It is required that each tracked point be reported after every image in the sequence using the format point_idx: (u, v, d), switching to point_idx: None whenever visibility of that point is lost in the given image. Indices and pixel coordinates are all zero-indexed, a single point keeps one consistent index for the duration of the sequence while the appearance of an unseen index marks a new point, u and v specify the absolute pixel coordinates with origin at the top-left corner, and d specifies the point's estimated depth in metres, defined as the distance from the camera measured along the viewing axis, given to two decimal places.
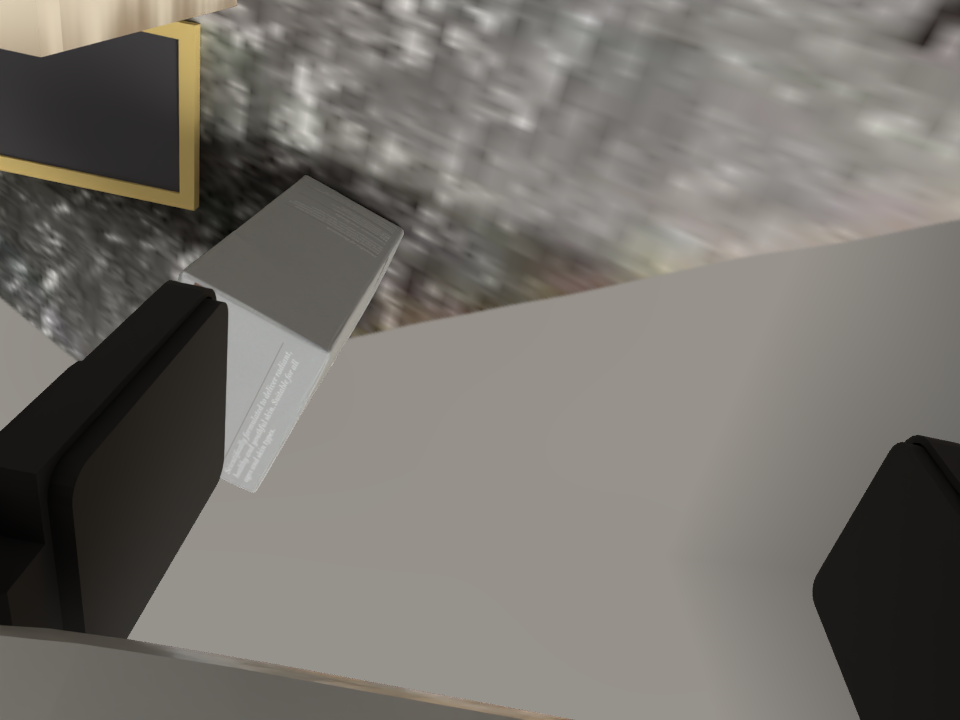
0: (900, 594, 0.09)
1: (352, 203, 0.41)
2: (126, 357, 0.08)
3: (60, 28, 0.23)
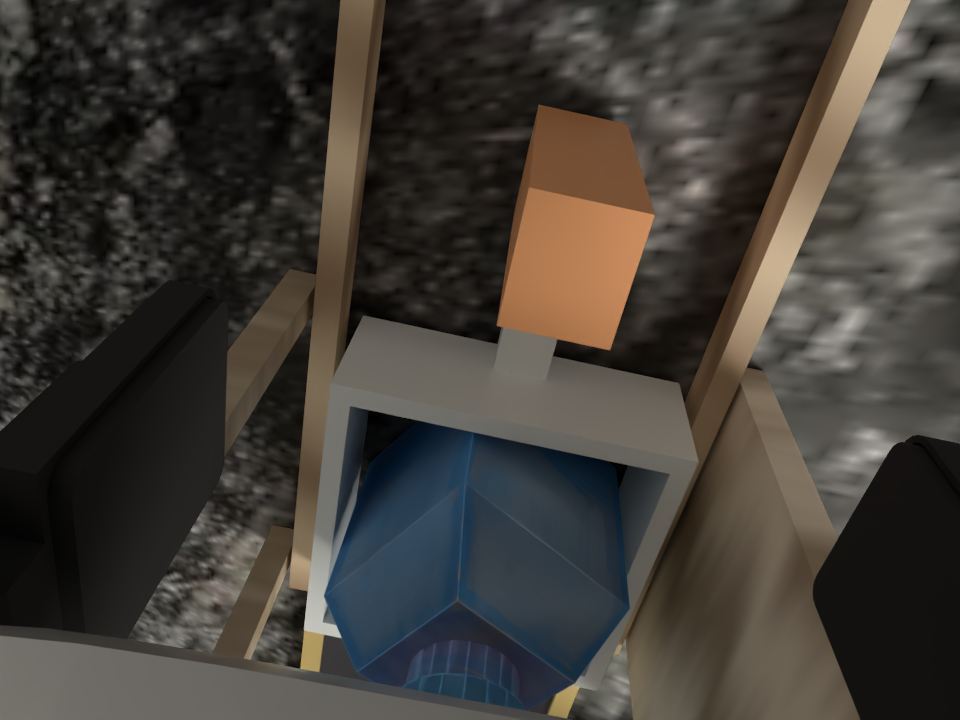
0: (900, 594, 0.09)
1: None
2: (126, 357, 0.08)
3: None
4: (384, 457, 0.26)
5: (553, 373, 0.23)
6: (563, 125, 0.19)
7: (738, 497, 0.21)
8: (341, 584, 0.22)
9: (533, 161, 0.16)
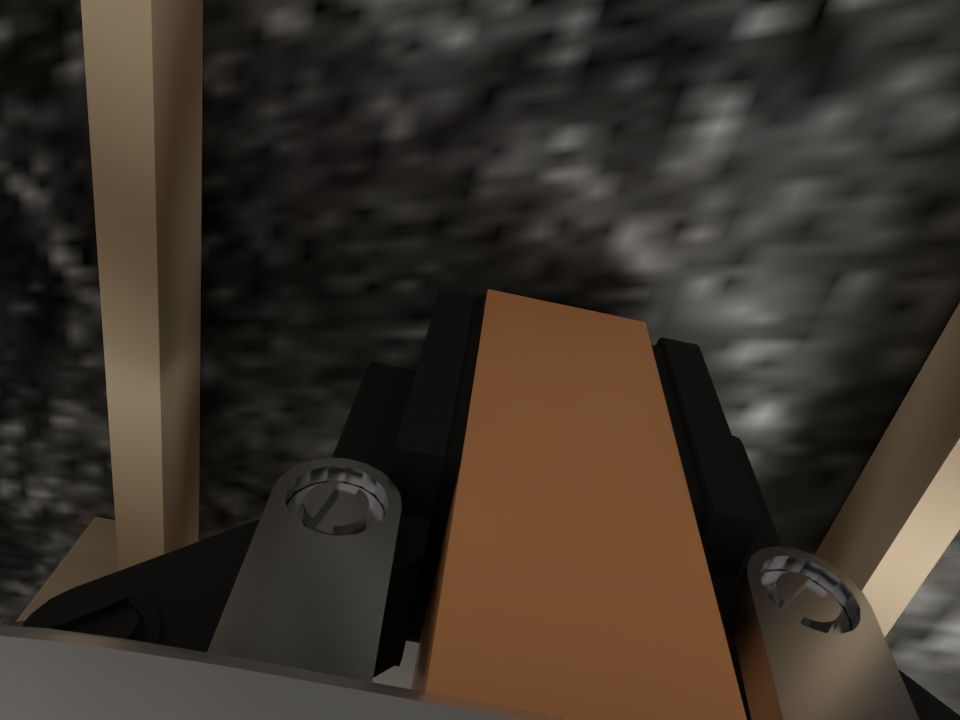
0: None
1: None
2: (449, 359, 0.09)
3: None
4: None
5: None
6: (530, 353, 0.10)
7: None
8: None
9: (452, 539, 0.07)
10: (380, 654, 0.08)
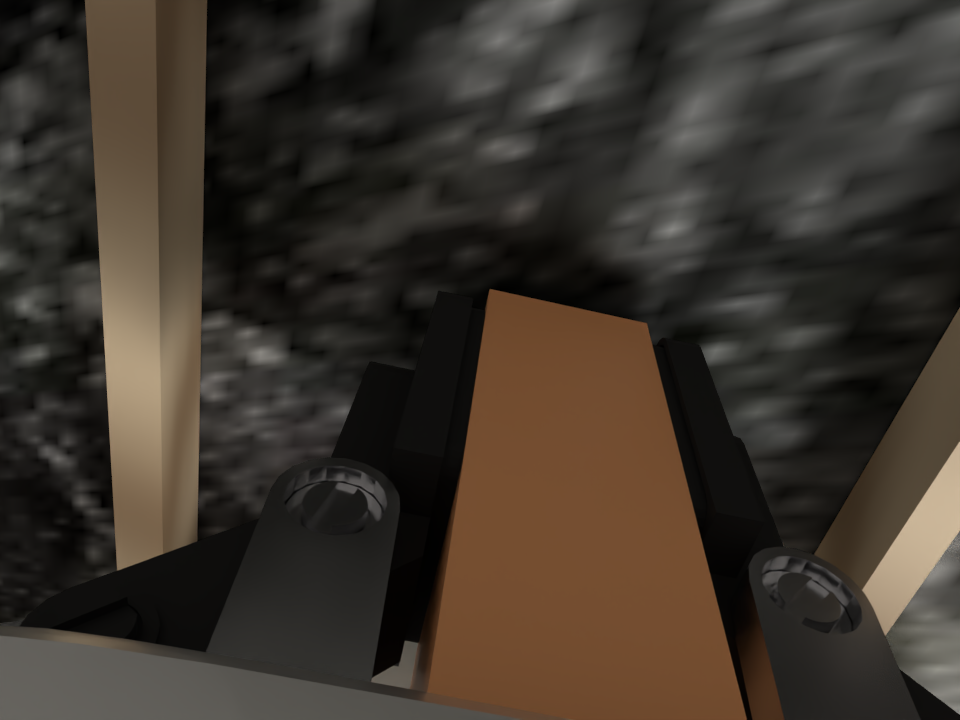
0: None
1: None
2: (448, 359, 0.09)
3: None
4: None
5: None
6: (531, 354, 0.10)
7: None
8: None
9: (454, 539, 0.07)
10: (378, 654, 0.08)
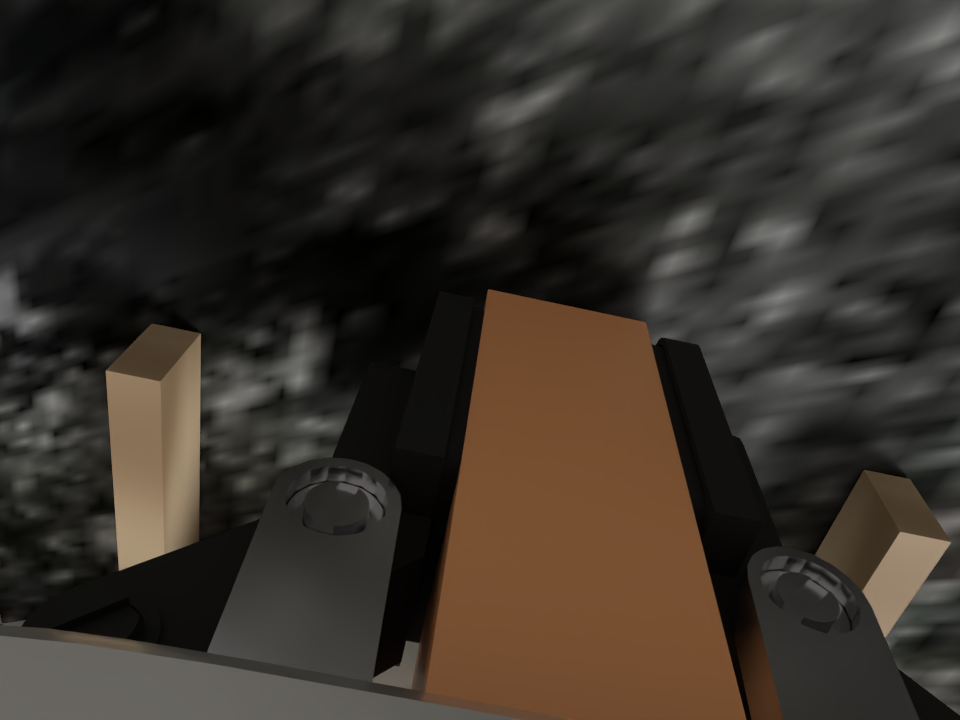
0: None
1: None
2: (449, 359, 0.09)
3: None
4: None
5: None
6: (530, 353, 0.10)
7: None
8: None
9: (452, 539, 0.07)
10: (379, 654, 0.08)
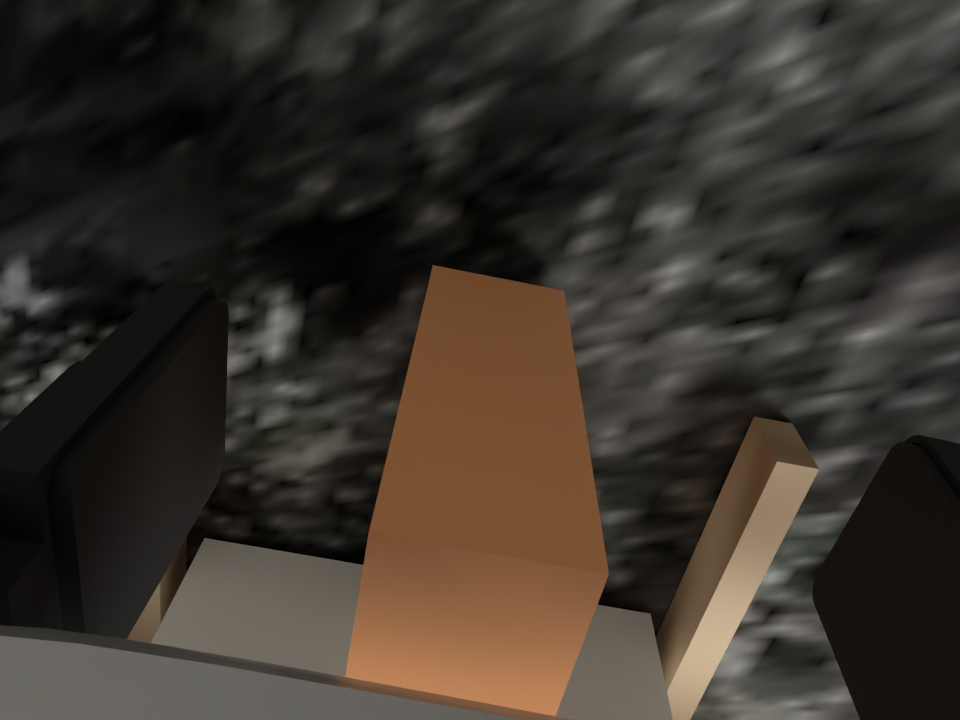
0: (900, 594, 0.09)
1: None
2: (126, 357, 0.08)
3: None
4: None
5: None
6: (464, 312, 0.12)
7: None
8: None
9: (394, 433, 0.09)
10: None
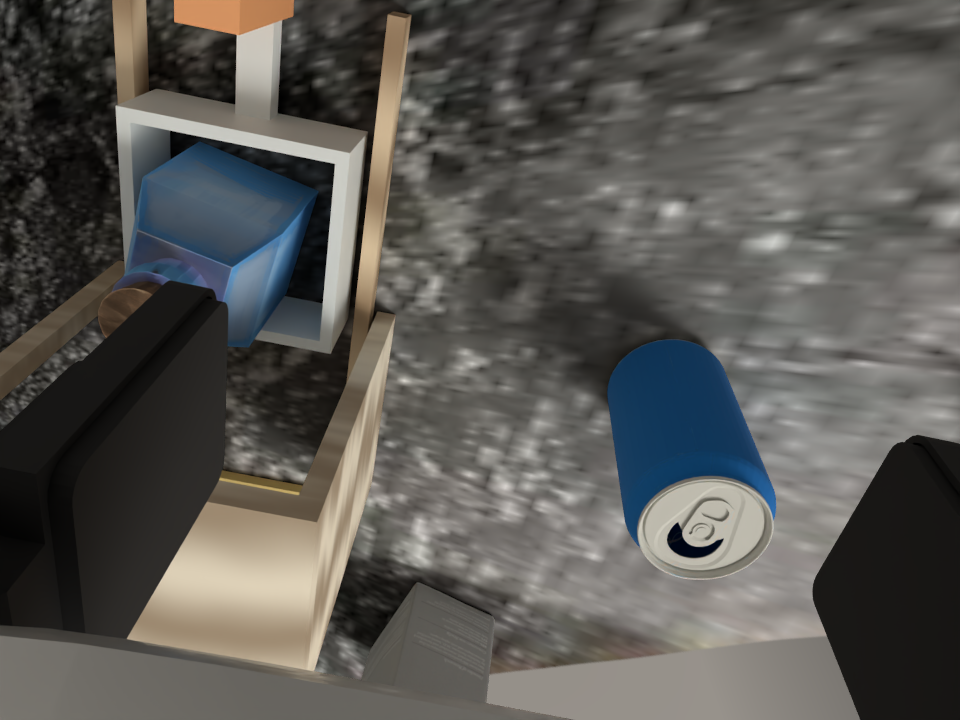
0: (900, 594, 0.09)
1: (455, 605, 0.51)
2: (126, 357, 0.08)
3: None
4: None
5: (277, 119, 0.35)
6: None
7: None
8: None
9: None
10: None
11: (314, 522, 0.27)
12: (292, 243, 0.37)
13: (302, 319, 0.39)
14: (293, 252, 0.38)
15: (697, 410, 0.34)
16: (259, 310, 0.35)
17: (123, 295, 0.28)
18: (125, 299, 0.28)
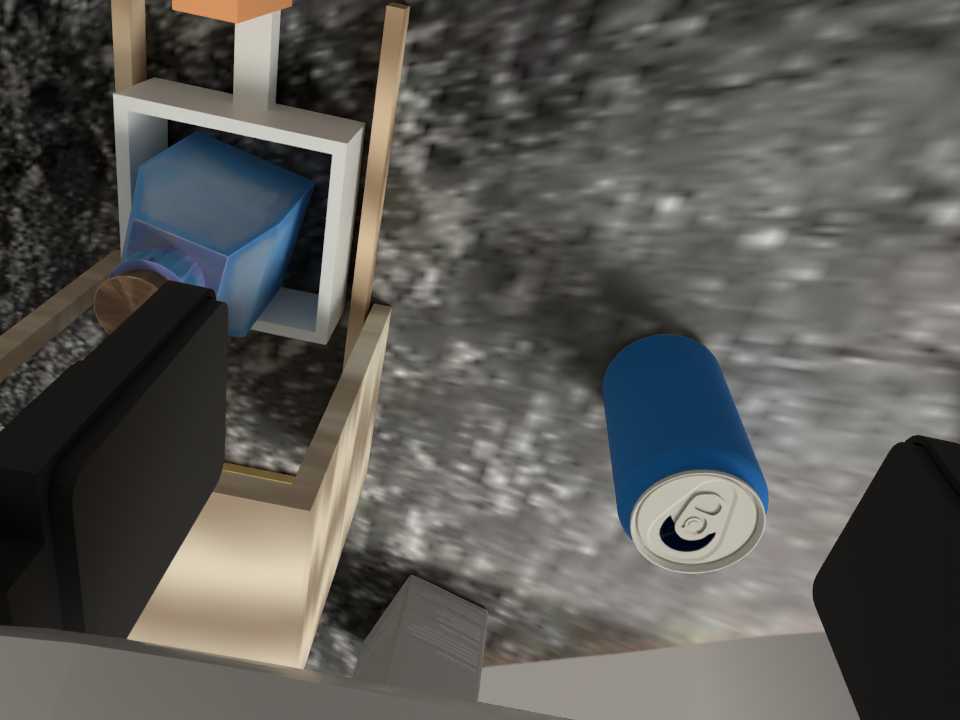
0: (900, 594, 0.09)
1: (448, 597, 0.51)
2: (126, 357, 0.08)
3: None
4: None
5: (275, 109, 0.35)
6: None
7: None
8: None
9: None
10: None
11: (308, 511, 0.27)
12: (289, 234, 0.37)
13: (298, 310, 0.39)
14: (290, 243, 0.38)
15: (691, 405, 0.34)
16: (255, 300, 0.35)
17: (119, 283, 0.28)
18: (120, 286, 0.28)
